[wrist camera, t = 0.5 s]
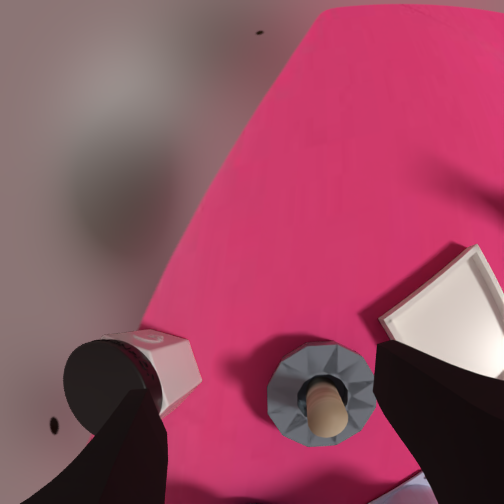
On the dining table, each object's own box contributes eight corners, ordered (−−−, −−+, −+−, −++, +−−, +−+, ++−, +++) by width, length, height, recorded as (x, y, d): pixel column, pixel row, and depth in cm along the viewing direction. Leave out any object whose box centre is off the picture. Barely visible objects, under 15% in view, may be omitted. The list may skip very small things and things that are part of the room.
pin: (341, 394, 29) (355, 424, 21) (315, 410, 29) (320, 444, 21) (326, 370, 29) (335, 394, 21) (299, 386, 30) (300, 414, 21)
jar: (210, 342, 32) (162, 362, 20) (196, 414, 31) (148, 460, 19) (133, 321, 33) (63, 325, 22) (123, 389, 32) (56, 416, 21)
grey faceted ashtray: (386, 400, 28) (394, 409, 25) (302, 450, 29) (302, 462, 26) (338, 321, 30) (342, 323, 27) (251, 374, 31) (246, 381, 28)
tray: (521, 360, 26) (532, 362, 24) (441, 433, 26) (449, 440, 24) (467, 247, 29) (477, 243, 27) (377, 318, 30) (383, 319, 28)
